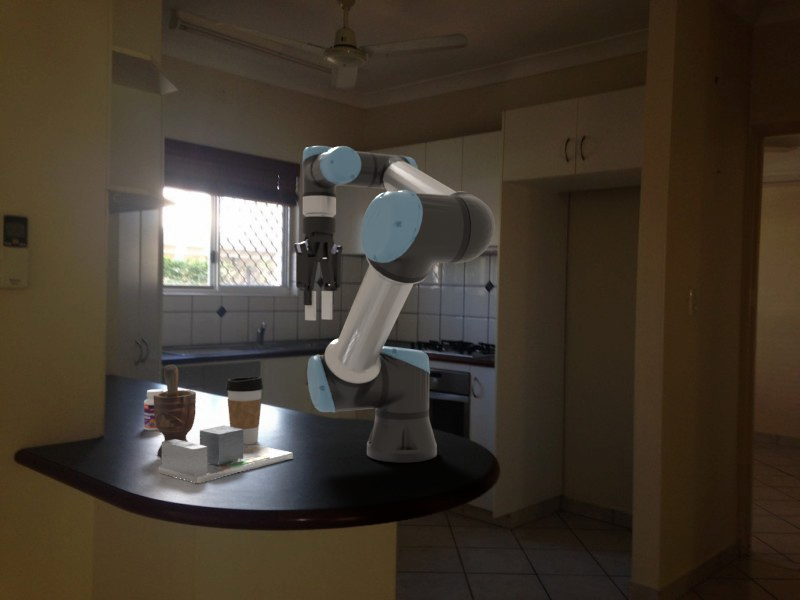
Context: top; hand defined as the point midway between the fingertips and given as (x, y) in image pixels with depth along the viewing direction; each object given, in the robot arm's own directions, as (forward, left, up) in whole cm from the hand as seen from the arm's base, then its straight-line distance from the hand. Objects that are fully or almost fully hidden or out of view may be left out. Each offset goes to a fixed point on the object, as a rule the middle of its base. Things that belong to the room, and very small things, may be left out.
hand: (318, 319), depth 157 cm
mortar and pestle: (+17, +25, -29) cm, 42 cm away
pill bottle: (+45, +13, -29) cm, 55 cm away
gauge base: (+2, +24, -29) cm, 37 cm away
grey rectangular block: (+1, +26, -27) cm, 37 cm away
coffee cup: (+16, +8, -29) cm, 34 cm away
